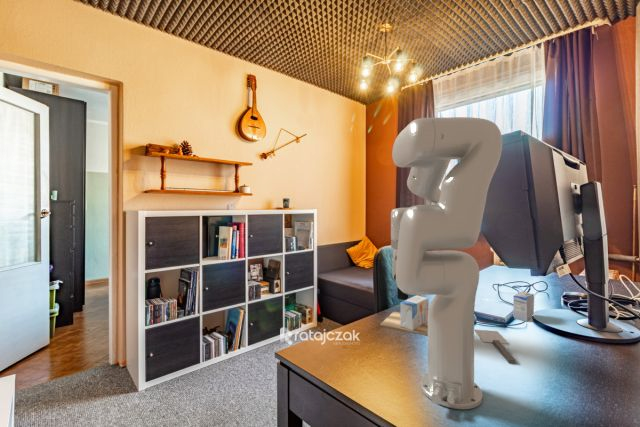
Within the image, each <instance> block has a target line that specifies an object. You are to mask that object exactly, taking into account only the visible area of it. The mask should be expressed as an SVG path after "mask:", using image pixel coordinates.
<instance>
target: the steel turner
mask: <svg viewBox="0 0 640 427" xmlns="http://www.w3.org/2000/svg"><path fill="white" fill-rule="evenodd" d="M474 333H475V334H476V335H477V336H478V337H479V339H480V340H481V342H482V343H488V344H493V345H494V346H495V348H496V349H497V350H498V351H499V353H500V354H501V355H502V357H503V358H504V359H505V360H506V361H507V363H508V364H512V365H513V364H514V365H516V364H517V360H516V359H515V358H514V356H513V355H512V354H511V353H510V351H508V350H507V348H506V347H505V346H504V345H509V342H508V341H507V340H506V339H505V338H504V337H503V335H501V333H500V332H499V331H497V330H486V329H485V330H484V329H474Z"/></svg>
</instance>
